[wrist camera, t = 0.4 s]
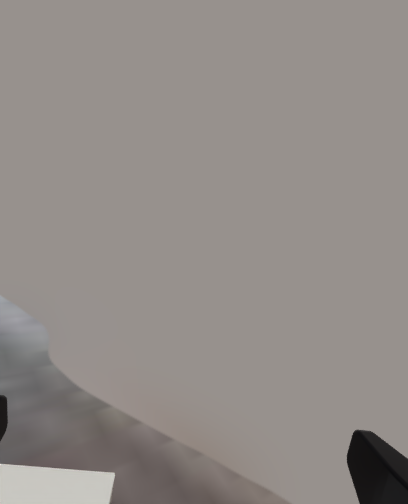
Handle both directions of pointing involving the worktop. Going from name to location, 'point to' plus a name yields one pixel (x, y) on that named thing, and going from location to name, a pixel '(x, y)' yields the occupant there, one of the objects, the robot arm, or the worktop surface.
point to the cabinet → (54, 486)
